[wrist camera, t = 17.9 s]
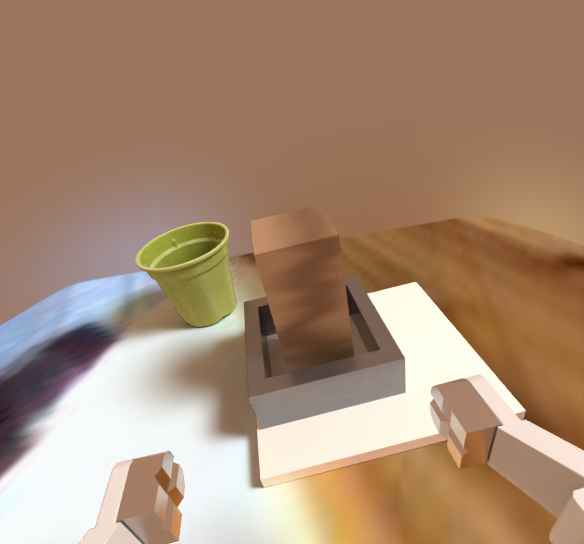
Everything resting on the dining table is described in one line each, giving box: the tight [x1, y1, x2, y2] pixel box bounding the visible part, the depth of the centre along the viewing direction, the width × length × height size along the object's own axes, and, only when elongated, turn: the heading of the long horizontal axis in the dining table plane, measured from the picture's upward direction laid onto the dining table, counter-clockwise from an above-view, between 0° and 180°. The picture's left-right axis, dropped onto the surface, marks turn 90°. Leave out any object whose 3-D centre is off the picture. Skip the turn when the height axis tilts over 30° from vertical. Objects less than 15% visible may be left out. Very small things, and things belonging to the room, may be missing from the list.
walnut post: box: [251, 205, 354, 373], centre depth 25 cm, size 5×5×12 cm
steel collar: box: [244, 275, 406, 430], centre depth 27 cm, size 10×10×4 cm
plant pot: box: [136, 222, 236, 327], centre depth 36 cm, size 9×9×9 cm
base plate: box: [256, 282, 526, 488], centre depth 28 cm, size 17×15×1 cm
